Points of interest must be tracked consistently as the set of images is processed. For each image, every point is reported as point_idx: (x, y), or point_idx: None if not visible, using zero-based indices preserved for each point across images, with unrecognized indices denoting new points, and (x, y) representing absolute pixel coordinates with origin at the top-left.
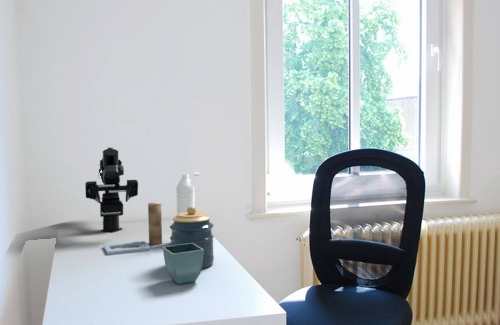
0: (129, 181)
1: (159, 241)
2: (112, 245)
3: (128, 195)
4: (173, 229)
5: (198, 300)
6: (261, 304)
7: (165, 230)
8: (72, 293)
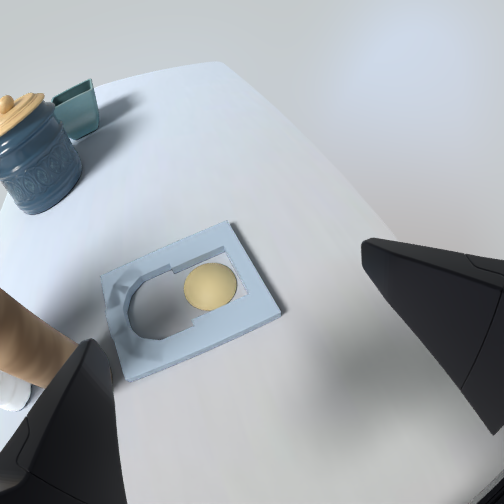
0: None
1: None
2: (238, 302)
3: (49, 398)
4: (54, 104)
5: None
6: None
7: None
8: (220, 84)
